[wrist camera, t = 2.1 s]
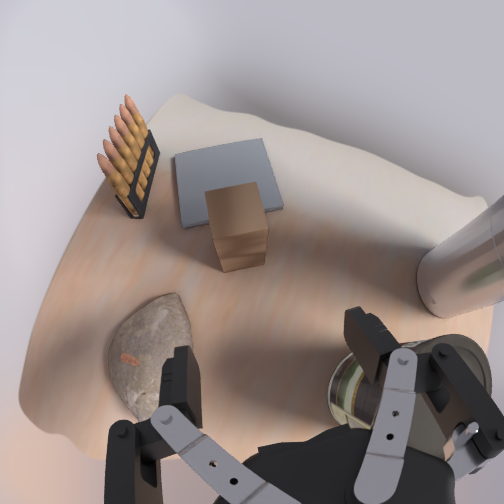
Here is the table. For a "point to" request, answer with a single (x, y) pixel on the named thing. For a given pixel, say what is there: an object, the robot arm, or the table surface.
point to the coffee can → (423, 422)
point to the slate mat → (223, 176)
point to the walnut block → (238, 226)
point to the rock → (147, 352)
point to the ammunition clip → (130, 160)
